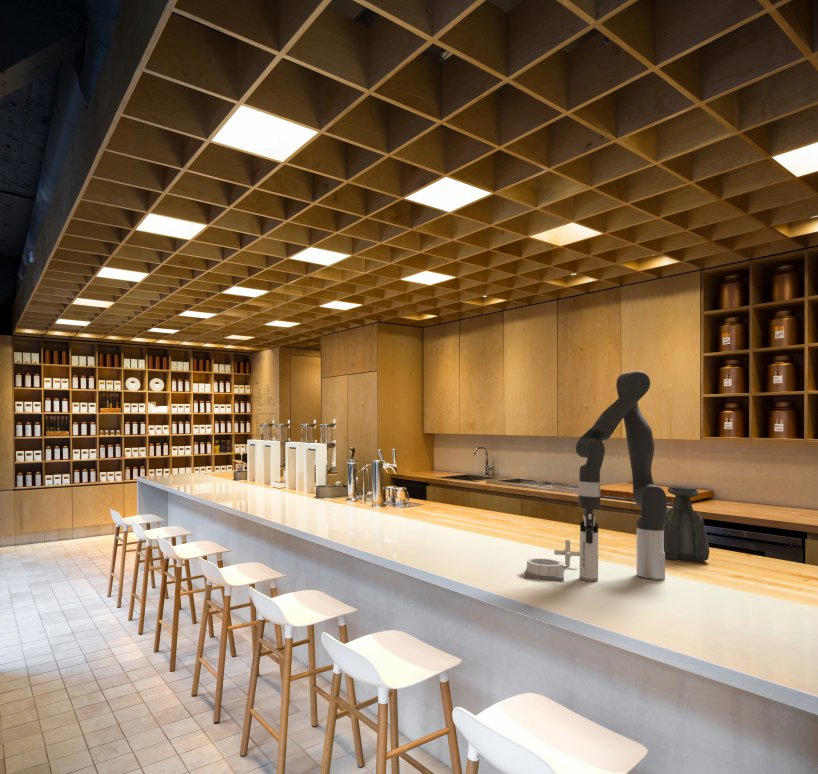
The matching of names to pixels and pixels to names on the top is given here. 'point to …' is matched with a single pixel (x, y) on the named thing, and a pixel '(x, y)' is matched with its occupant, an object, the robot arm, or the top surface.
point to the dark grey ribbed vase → (684, 529)
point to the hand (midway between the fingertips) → (588, 541)
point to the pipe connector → (567, 552)
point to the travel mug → (588, 554)
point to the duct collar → (544, 569)
